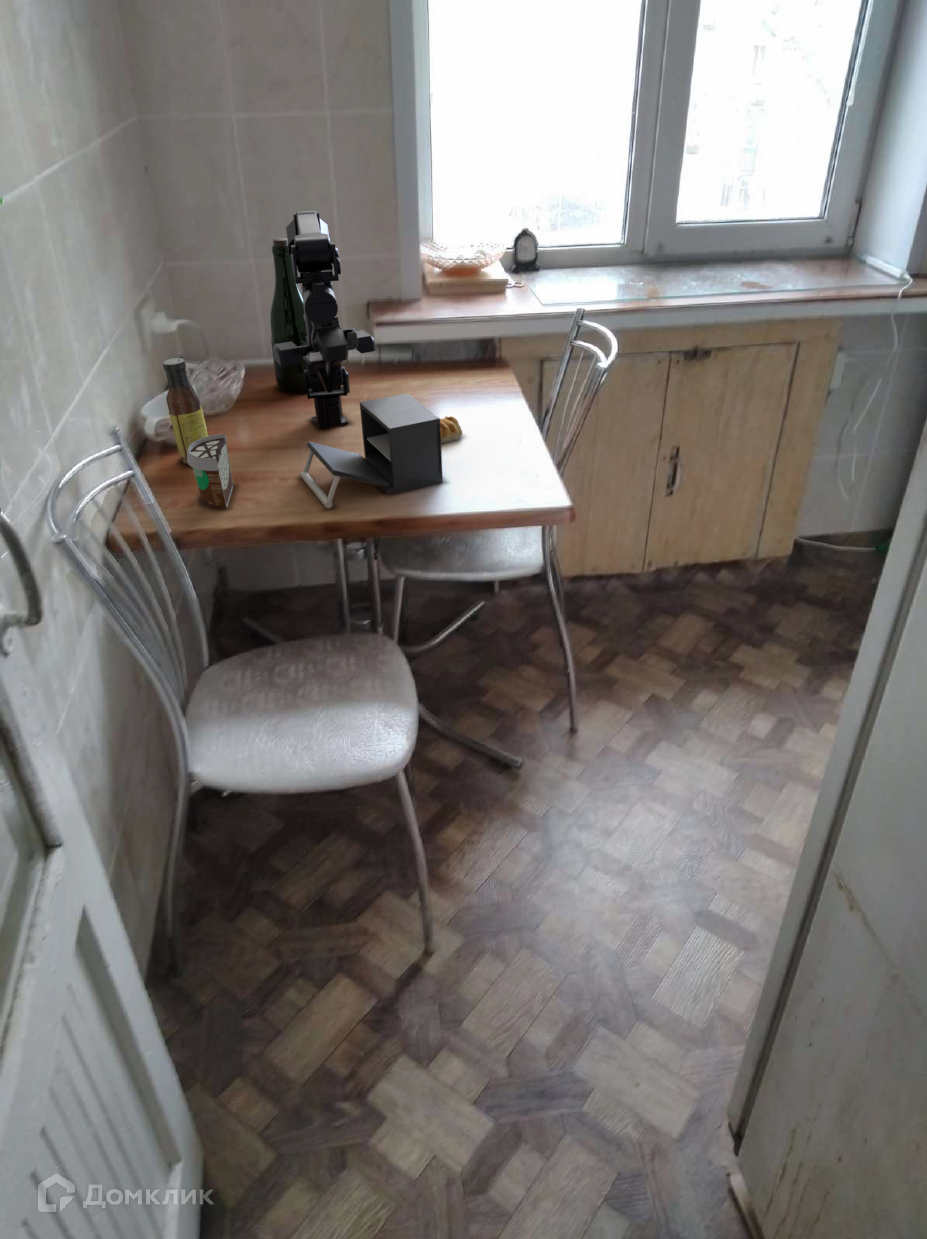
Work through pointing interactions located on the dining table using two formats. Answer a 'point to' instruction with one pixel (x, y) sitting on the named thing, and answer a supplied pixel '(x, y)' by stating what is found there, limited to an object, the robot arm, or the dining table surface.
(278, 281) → the green wine bottle
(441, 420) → the pastry
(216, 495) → the food container
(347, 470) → the oven door
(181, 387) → the sauce bottle
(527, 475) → the dining table surface
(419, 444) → the oven
